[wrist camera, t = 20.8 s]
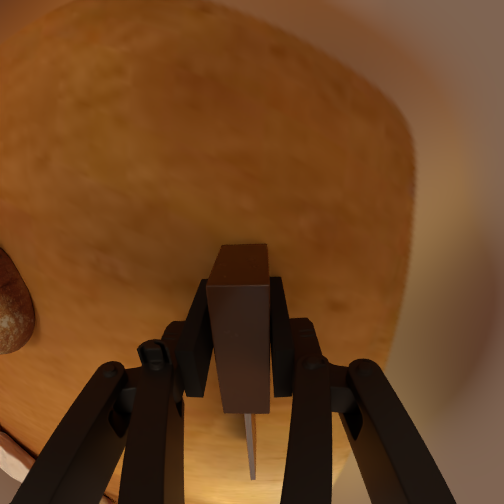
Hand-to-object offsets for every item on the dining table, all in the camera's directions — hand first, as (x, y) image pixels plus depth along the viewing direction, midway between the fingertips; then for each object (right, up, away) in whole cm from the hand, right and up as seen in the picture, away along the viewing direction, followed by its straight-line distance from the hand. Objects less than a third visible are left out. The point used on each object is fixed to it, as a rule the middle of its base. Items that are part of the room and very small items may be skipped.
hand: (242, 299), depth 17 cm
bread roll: (-22, 0, +1) cm, 22 cm away
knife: (0, -6, +2) cm, 6 cm away
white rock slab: (-53, -38, +16) cm, 67 cm away
